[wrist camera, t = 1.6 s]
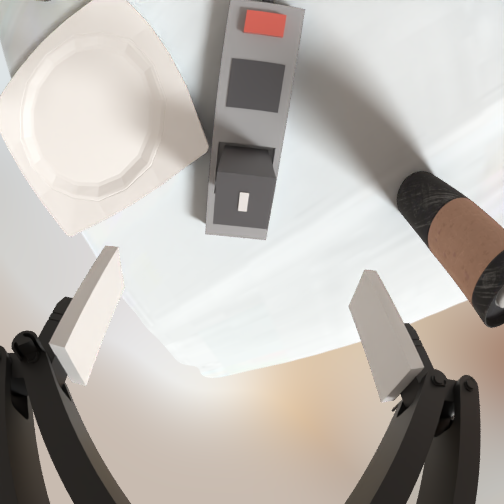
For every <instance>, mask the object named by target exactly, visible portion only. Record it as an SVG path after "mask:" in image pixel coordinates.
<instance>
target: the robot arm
mask: <svg viewBox="0 0 504 504" xmlns="http://www.w3.org/2000/svg"><path fill="white" fill-rule="evenodd" d="M124 288H125V285H124V280H123V274H122V268H121V262H120V255H119V248H118V247H113V246H105V247H104V249H103V250H102V252H101V253H100V255H99V256H98V258H97V259H96V261H95V262H94V264H93V266H92V267H91V269H90V270H89V272H88V274H87V275H86V277H85V279H84V280H83V282H82V283H81V285H80V287H79V288H78V290H77V292H76V294H75V296H74V297H73V298H69V297H64V298H63V299H62V300H61V301H60V302H58V303H57V305H56V307H55V308H54V310H53V313H52V314H51V315H50V317H49V320H48V321H47V322H46V324H45V326H44V328H43V330H42V331H41V334H40V335H39V337H37V335H36V334H35V333H34V332H32V331H23V332H21V333H19V334H18V335H17V336H16V337H15V338H14V339H13V342H12V350H13V351H14V353H7V352H6V351H5V349H4V348H3V347H2V346H0V504H50V502H49V498H48V495H47V491H46V487H45V483H44V479H43V475H42V471H41V465H40V461H39V455H38V449H37V443H36V436H35V428H34V419H33V412H34V415H35V418H36V420H37V424H38V426H39V429H40V432H41V435H42V437H43V440H44V442H45V445H46V447H47V450H48V452H49V454H50V457H51V459H52V461H53V463H54V466H55V468H56V470H57V472H58V474H59V476H60V478H61V480H62V482H63V484H64V486H65V488H66V490H67V492H68V493H69V495H70V497H71V499H72V501H73V503H74V504H131V503H130V502H129V500H128V499H127V497H126V496H125V494H124V493H123V492H122V490H121V489H120V487H119V486H118V484H117V483H116V481H115V480H114V478H113V476H112V475H111V473H110V471H109V470H108V468H107V466H106V465H105V463H104V461H103V460H102V458H101V456H100V455H99V453H98V451H97V449H96V447H95V445H94V443H93V442H92V440H91V438H90V436H89V434H88V432H87V430H86V428H85V426H84V424H83V422H82V420H81V417H80V415H79V413H78V411H77V408H76V406H75V404H74V402H73V399H72V397H71V395H70V392H69V389H68V387H67V385H66V383H65V380H66V377H67V375H68V377H69V378H70V380H71V382H74V383H78V384H81V385H85V386H86V385H87V382H88V379H89V376H90V373H91V370H92V367H93V365H94V362H95V359H96V357H97V353H98V351H99V349H100V346H101V343H102V341H103V338H104V336H105V333H106V331H107V328H108V326H109V323H110V321H111V318H112V316H113V314H114V311H115V309H116V307H117V304H118V302H119V300H120V297H121V295H122V293H123V291H124ZM349 309H350V311H351V314H352V317H353V320H354V322H355V325H356V328H357V331H358V333H359V336H360V339H361V342H362V345H363V348H364V351H365V354H366V357H367V360H368V363H369V366H370V369H371V372H372V375H373V378H374V381H375V384H376V387H377V391H378V394H379V397H380V400H381V402H387V401H393V400H395V399H396V398H397V397H398V396H399V394H401V397H402V400H401V401H400V402H399V403H398V404H397V405H396V406H395V407H394V408H393V409H392V411H394V410H395V409H396V411H395V414H394V416H393V418H392V420H391V423H390V425H389V427H388V429H387V431H386V433H385V435H384V437H383V439H382V441H381V443H380V445H379V447H378V449H377V451H376V453H375V455H374V456H373V458H372V460H371V462H370V464H369V465H368V467H367V469H366V471H365V472H364V474H363V476H362V477H361V479H360V481H359V482H358V484H357V486H356V487H355V489H354V490H353V492H352V493H351V495H350V496H349V498H348V499H347V501H346V502H345V504H406V503H407V501H408V498H409V497H410V494H411V492H412V490H413V488H414V485H415V483H416V481H417V479H418V477H419V474H420V472H421V469H422V467H423V465H424V470H423V475H422V480H421V485H420V490H419V495H418V499H417V503H416V504H475V501H476V495H477V486H478V477H479V464H480V463H479V462H480V404H479V391H478V385H477V383H476V381H475V380H474V379H473V378H472V377H471V376H468V375H464V376H462V377H461V378H460V379H459V380H458V381H455V380H449V379H447V378H446V376H445V375H444V374H443V373H442V372H441V371H439V370H436V369H434V368H433V366H432V364H431V362H430V360H429V358H428V355H427V353H426V351H425V349H424V347H423V346H422V343H421V341H420V340H419V337H418V335H417V333H416V331H415V330H414V328H413V327H412V326H411V325H410V324H409V323H403V321H402V319H401V317H400V315H399V313H398V311H397V309H396V307H395V305H394V303H393V301H392V299H391V297H390V295H389V293H388V292H387V290H386V288H385V286H384V284H383V282H382V281H381V279H380V277H379V275H378V273H377V272H376V271H373V270H364V272H363V274H362V277H361V279H360V282H359V284H358V286H357V288H356V291H355V293H354V295H353V298H352V300H351V302H350V304H349ZM424 462H425V463H424Z"/></svg>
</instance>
